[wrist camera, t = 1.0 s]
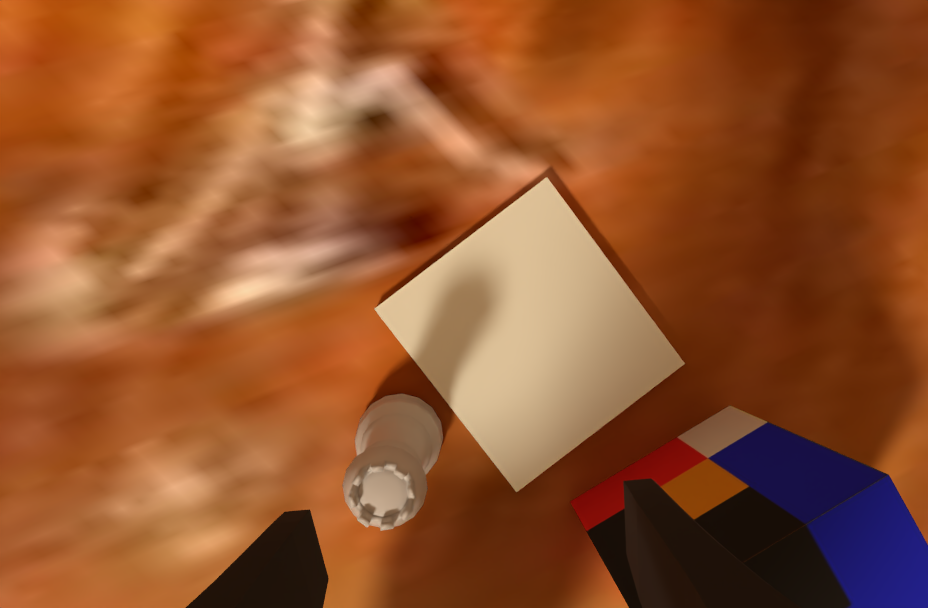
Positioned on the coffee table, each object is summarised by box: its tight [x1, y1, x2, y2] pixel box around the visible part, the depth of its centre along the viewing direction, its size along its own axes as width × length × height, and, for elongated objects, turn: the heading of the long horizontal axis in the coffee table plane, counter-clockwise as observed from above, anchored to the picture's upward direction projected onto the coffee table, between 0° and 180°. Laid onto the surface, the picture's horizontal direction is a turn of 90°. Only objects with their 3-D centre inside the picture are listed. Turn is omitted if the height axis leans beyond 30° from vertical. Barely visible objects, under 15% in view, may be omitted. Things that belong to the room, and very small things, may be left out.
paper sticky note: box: [375, 177, 685, 492], centre depth 27 cm, size 11×12×1 cm
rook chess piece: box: [343, 394, 443, 531], centre depth 23 cm, size 4×4×8 cm
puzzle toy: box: [570, 406, 928, 608], centre depth 23 cm, size 10×10×10 cm
